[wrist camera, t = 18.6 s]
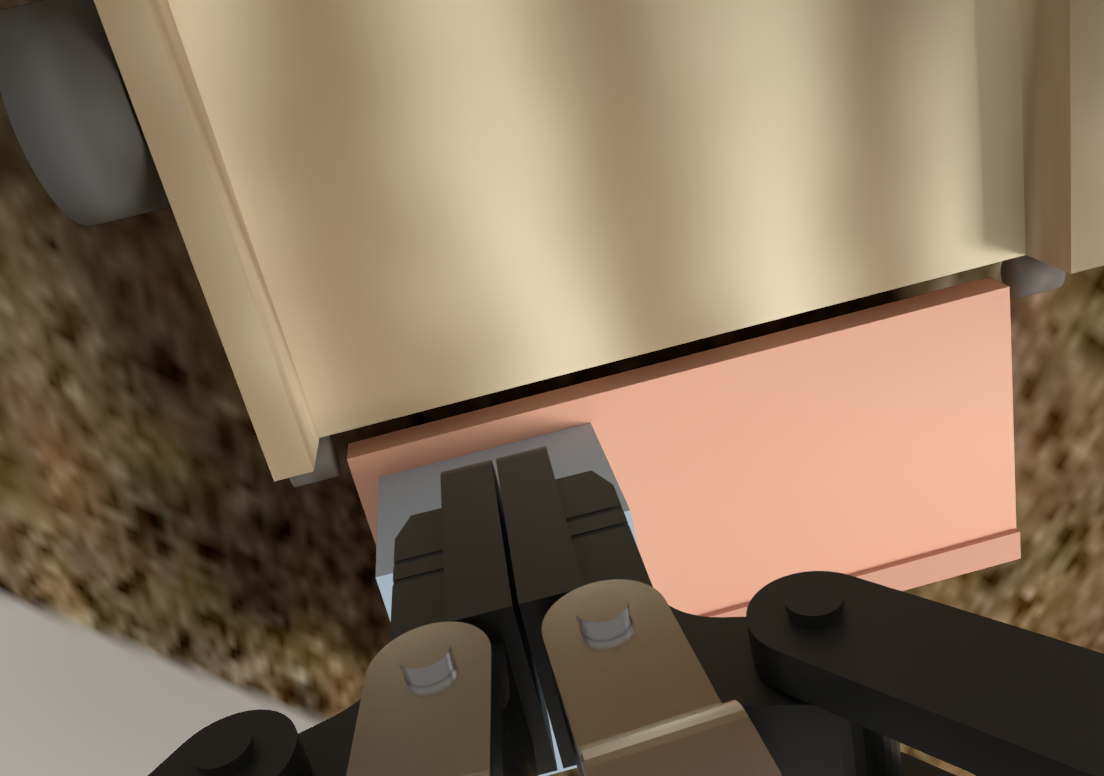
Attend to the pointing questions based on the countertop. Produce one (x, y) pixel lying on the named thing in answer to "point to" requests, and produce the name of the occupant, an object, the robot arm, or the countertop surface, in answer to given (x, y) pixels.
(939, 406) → the pink rectangular board
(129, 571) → the countertop surface
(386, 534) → the blue gray block
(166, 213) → the countertop surface
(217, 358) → the countertop surface
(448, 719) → the robot arm
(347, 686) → the countertop surface
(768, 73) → the flatbed
